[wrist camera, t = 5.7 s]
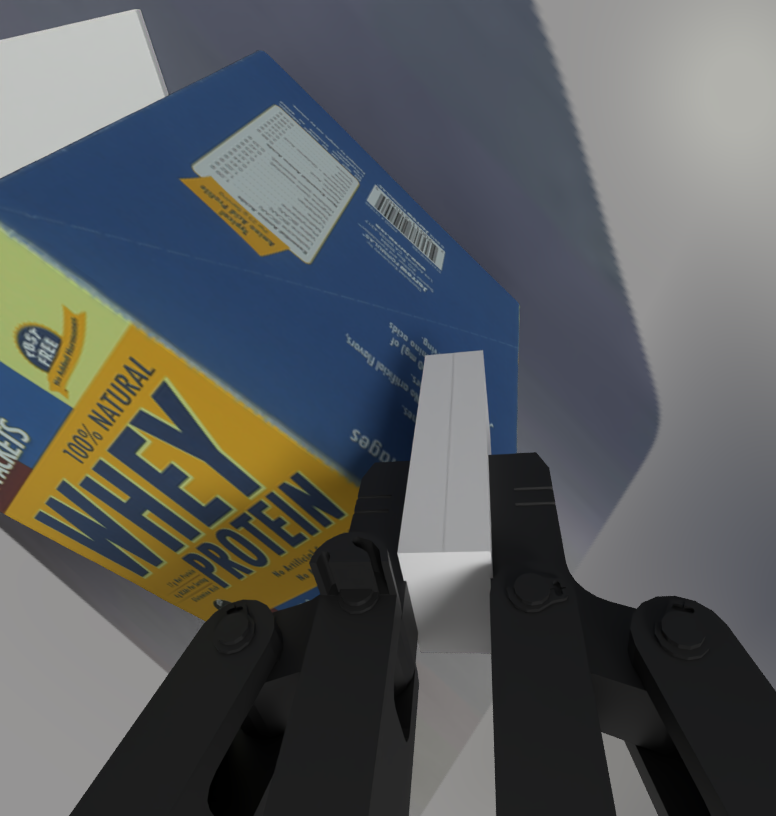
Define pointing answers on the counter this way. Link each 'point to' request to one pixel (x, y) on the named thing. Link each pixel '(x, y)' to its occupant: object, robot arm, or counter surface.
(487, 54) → the counter surface
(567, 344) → the counter surface
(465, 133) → the counter surface
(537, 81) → the counter surface
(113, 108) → the mat
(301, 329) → the protein box
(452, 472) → the robot arm
